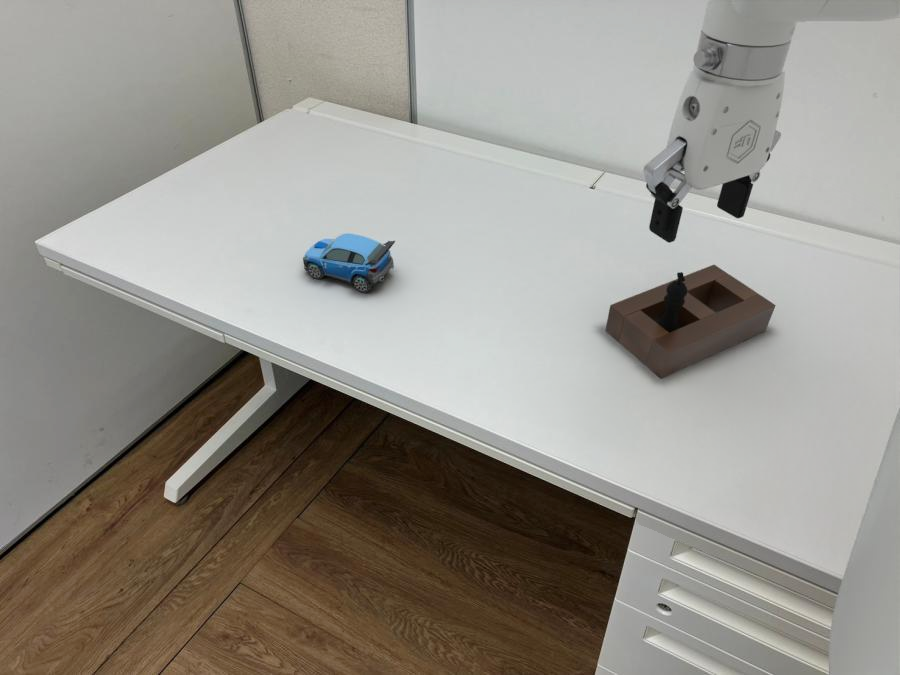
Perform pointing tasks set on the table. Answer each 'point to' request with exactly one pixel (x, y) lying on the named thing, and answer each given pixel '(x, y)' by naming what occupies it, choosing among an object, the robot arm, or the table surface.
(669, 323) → the chess piece
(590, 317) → the table surface
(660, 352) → the socket base
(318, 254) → the toy car
